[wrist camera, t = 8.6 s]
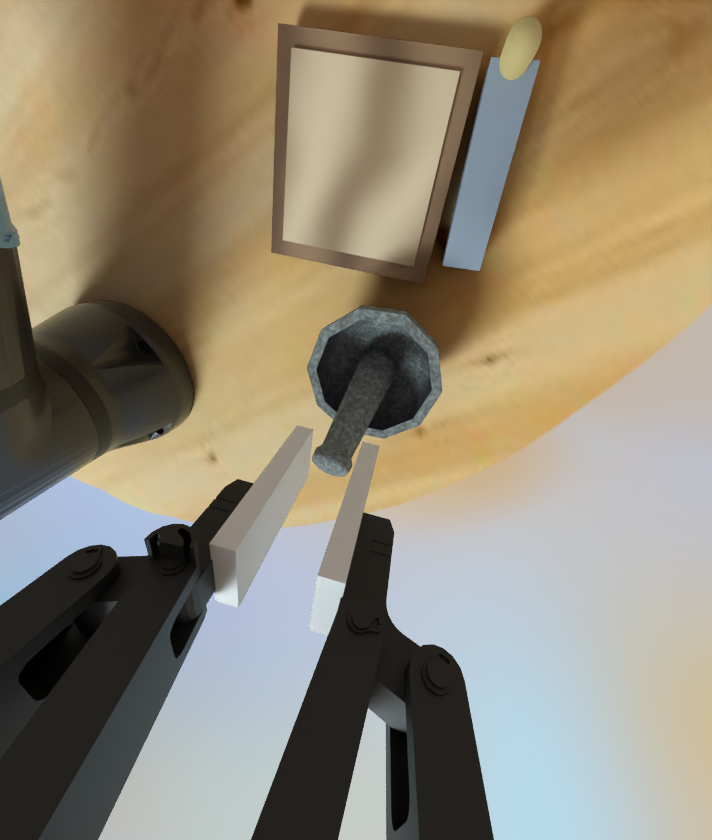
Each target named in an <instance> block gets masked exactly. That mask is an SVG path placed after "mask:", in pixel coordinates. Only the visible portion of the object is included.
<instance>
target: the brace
mask: <svg viewBox="0 0 712 840" xmlns="http://www.w3.org/2000/svg"><path fill="white" fill-rule="evenodd" d="M541 40H542V27H541V24H540V22H539V20H538V19H537V18H535V17H533V16H526V17H523V18H521V19H520V20H518V21H517V22H516V23H515V24H514V26H513V27H512V28H511V30H510V32H509V34H508V37H507V39H506V42H505V45H504V48H503V50H502V53H501V56H500V58H498V57H491V60H490V63H489V66H488V69H487V72H486V75H485V79H484V82H483V86H482V90H481V95H480V99H479V103H478V108H477V112H476V116H475V121H474V125H473V129H472V133H471V138H470V142H469V146H468V151H467V155H466V159H465V164H464V168H463V172H462V177H461V181H460V185H459V190H458V194H457V198H456V203H455V207H454V211H453V216H452V220H451V224H450V229H449V233H448V237H447V241H446V246H445V250H444V254H443V259H442V263H441V265H442V266H448V267H455V268H462V269H468V270H475V271H480V268H481V264H482V261H483V258H484V254H485V251H486V247H487V244H488V240H489V237H490V233H491V230H492V226H493V223H494V219H495V216H496V213H497V209H498V206H499V202H500V199H501V195H502V192H503V188H504V185H505V181H506V178H507V174H508V171H509V168H510V164H511V161H512V157H513V154H514V150H515V147H516V143H517V140H518V136H519V133H520V129H521V126H522V123H523V119H524V116H525V112H526V109H527V105H528V102H529V98H530V95H531V91H532V88H533V85H534V81H535V78H536V74H537V71H538V67H539V64H540V60H533V58H534V56H535V54H536V52H537V50H538V48H539V46H540V43H541Z"/></svg>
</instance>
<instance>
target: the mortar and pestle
mask: <svg viewBox="0 0 712 840" xmlns="http://www.w3.org/2000/svg"><path fill="white" fill-rule="evenodd" d="M307 370H308V374H309V377H310V381H311V384H312V388H313V391H314V395H315V399H316V402H317V405H318V406H319V407H320V408H321V409H322V410H323V411H324V412H325V413H327V414H328V415H329V416H330V417H331V418H332V419H333V422H332V424H331V427H330V429H329V431H328V433H327V436H326V438H325V440H324V442H323V444H322V445H321V446H319V447H317V448H316V450H315V452H314V454H313V457H312V461H313V462H314V464H315V465H316V466H317V467H318V468H319V469H321V470H322V471H324V472H325V473H328V474H330V475H333V476H341V477H343V476H346V475H347V474H348V473H349V471H350V469H351V467H352V461H351V458H352V456H353V454H354V452H355V450H356V449H357V447H358V445H359V443H360V441H361V439H362V437H363V435H369V436H374V437H379V438H387V437H389V436H392V435H395V434H397V433H400V432H403V431H405V430H408V429H411V428H413V427H416V426H419V425H420V424H421V423H422V421H423V420H424V418H425V417H426V415H427V414H428V412H429V411H430V409H431V408H432V406H433V405H434V403H435V402H436V400H437V399H438V397H439V396H440V394H441V393H442V384H441V373H440V362H439V351H438V343H437V342H436V341H435V340H434V339H433V338H432V337H431V336H430V335H429V334H428V333H427V332H426V331H425V330H424V329H423V328H422V327H421V326H420V325H419V323H418V322H417V321H416V320H415V319H414V318H413V317H412V316H411V315H410V314H409V313H408V312H407V311H401V310H395V309H388V308H381V307H374V306H367V305H362V306H360V307H359V308H357V309H355V310H354V311H352V312H350V313H348V314H347V315H345V316H343V317H342V318H340V319H338V320H336V321H335V322H333V323H331V324H330V325H328V326H326V327H325V328H323V329H322V330H321V332H320V334H319V337H318V340H317V342H316V345H315V348H314V350H313V353H312V356H311V358H310V361H309V364H308V366H307Z"/></svg>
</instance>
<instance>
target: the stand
mask: <svg viewBox="0 0 712 840" xmlns="http://www.w3.org/2000/svg"><path fill="white" fill-rule="evenodd" d="M483 53H484V51H480V50H472V49H465V48H457V47H450V46H443V45H435V44H428V43H420V42H413V41H406V40H398V39H391V38H383V37H376V36H369V35H361V34H354V33H346V32H339V31H332V30H324V29H317V28H309V27H302V26H294V25H287V24H280V23H278V50H277V83H276V117H275V150H274V183H273V216H272V249H271V252H272V253H277V254H282V255H286V256H291V257H296V258H301V259H306V260H310V261H315V262H320V263H325V264H329V265H334V266H339V267H344V268H349V269H353V270H358V271H363V272H368V273H373V274H377V275H382V276H387V277H392V278H397V279H401V280H406V281H411V282H416V283H421V284H424V280H425V277H426V273H427V269H428V265H429V261H430V257H431V253H432V249H433V246H434V242H435V238H436V234H437V230H438V226H439V222H440V219H441V215H442V211H443V207H444V203H445V199H446V195H447V192H448V188H449V184H450V180H451V176H452V172H453V168H454V165H455V161H456V157H457V153H458V149H459V145H460V141H461V138H462V134H463V130H464V126H465V122H466V118H467V114H468V110H469V107H470V103H471V99H472V95H473V91H474V87H475V83H476V80H477V76H478V72H479V68H480V64H481V60H482V56H483Z"/></svg>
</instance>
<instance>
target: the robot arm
mask: <svg viewBox="0 0 712 840" xmlns="http://www.w3.org/2000/svg"><path fill="white" fill-rule="evenodd" d="M19 245H20V241H19V235H18V234H17V229H16V228H15V226H14V225H13V224H12V223H11V219H10V215H9V211H8V207H7V203H6V199H5V195H4V190H3V186H2V182H1V178H0V520H1V519H2V518H4V517H5V516H7V515H8V514H10V513H11V512H13V511H15V510H16V509H18V508H19V507H21V506H22V505H24V504H25V503H27V502H29V501H30V500H32V499H33V498H35V497H37V496H38V495H40V494H41V493H43V492H44V491H46V490H47V489H49V488H51V487H52V486H54V485H55V484H57V483H58V482H60V481H62V480H63V479H65V478H66V477H67V476H69V475H71V474H73V473H74V472H76V471H77V470H79V469H80V468H82V467H83V466H85V465H87V464H88V463H90V462H91V461H93V460H95V459H96V458H98V457H99V456H101V455H103V454H104V453H106V452H108V451H111V450H115V449H119V448H123V447H126V446H130V445H134V444H137V443H141V442H145V441H148V440H153V439H156V438H159V437H161V436H163V435H165V434H167V433H169V432H170V431H172V430H173V429H174V428H176V427H177V426H179V425H180V424H181V423H182V422H184V420H185V419H186V418H187V416H188V415H189V413H190V410H191V407H192V403H193V386H192V380H191V376H190V373H189V370H188V368H187V365H186V363H185V361H184V359H183V357H182V355H181V353H180V352H179V350H178V348H177V347H176V346H175V344H174V343H173V342H172V340H171V339H170V338H169V337H168V335H167V334H166V333H165V332H164V331H163V330H162V329H161V328H160V327H159V326H158V325H157V324H155V323H154V322H153V321H152V320H151V319H149V318H148V317H147V316H145V315H144V314H142V313H140V312H139V311H137V310H135V309H133V308H131V307H129V306H126V305H124V304H120V303H117V302H112V301H96V302H89V303H83V304H77V305H74V306H71V307H68V308H66V309H64V310H62V311H61V312H59V313H57V314H56V315H54V316H52V317H51V318H49V319H47V320H45V321H44V322H42V323H41V324H39V325H37V326H36V327H34V328H31V322H30V317H29V311H28V306H27V300H26V295H25V289H24V283H23V278H22V272H21V267H20V261H19V256H18V250H17V246H19ZM312 435H313V429H309V428H305V427H301V426H296V428H295V429H294V430H293V432H292V433H291V434H290V436H289V437H288V438H287V440H286V441H285V442H284V444H283V445H282V446H281V448H280V449H279V450H278V452H277V453H276V454H275V456H274V457H273V458H272V460H271V461H270V463H269V464H268V465H267V467H266V468H265V469H264V471H263V472H262V473H261V475H260V476H259V477H258V479H257V480H256V481H255V483H254V484H253V483H250V482H246V481H242V480H239V479H237V480H236V481H234V482H232V483H231V484H229V485H227V486H226V487H225V488H224V489H223V490H222V491H221V492H220V493H219V495H218V496H217V497H216V499H214V500H213V502H212V503H211V504H210V505H209V507H208V508H207V509H206V510H205V511H204V512H203V513H202V514H201V516H200V517H199V518H198V519H197V520H196V521H195V523H194V524H193V525H192V526H191V527H189V526H187V525H184V524H171V525H167V526H163V527H161V528H159V529H157V530H155V531H153V532H152V533H151V534H150V535H148V536H147V537H146V538H145V539H144V540H145V544H146V547H147V551H148V555H149V556H130V557H117V554H116V552H115V551H114V550H113V549H112V548H111V547H109V546H105V545H94V546H89V547H86V548H83V549H80V550H77V551H76V552H74V553H72V554H71V555H69V556H67V557H66V558H64V559H63V560H62V561H60V562H59V563H58V564H56V565H55V566H54V567H52V568H51V569H50V570H48V571H47V572H45V573H44V574H43V575H42V576H40V577H39V578H38V579H36V580H35V581H33V582H32V583H30V584H29V585H28V586H26V587H25V588H24V589H22V590H21V591H20V592H18V593H17V594H16V595H14V596H13V597H12V598H10V599H9V600H7V601H6V602H5V603H3V604H2V605H1V606H0V840H98V838H99V836H100V834H101V832H102V830H103V828H104V826H105V824H106V822H107V820H108V817H109V816H110V813H111V811H112V809H113V807H114V805H115V803H116V801H117V799H118V797H119V795H120V793H121V791H122V789H123V786H124V784H125V782H126V780H127V778H128V776H129V774H130V772H131V770H132V768H133V766H134V764H135V761H136V759H137V757H138V755H139V753H140V751H141V749H142V747H143V745H144V743H145V741H146V739H147V737H148V735H149V733H150V730H151V728H152V726H153V724H154V722H155V720H156V718H157V716H158V714H159V712H160V710H161V708H162V706H163V704H164V701H165V699H166V697H167V695H168V693H169V691H170V689H171V687H172V685H173V683H174V681H175V678H176V676H177V674H178V672H179V670H180V668H181V666H182V664H183V662H184V660H185V658H186V656H187V654H188V652H189V649H190V647H191V645H192V643H193V641H194V639H195V637H196V635H197V633H198V631H199V629H200V627H201V625H202V623H203V620H204V618H205V615H206V611H207V608H206V604H207V602H208V601H209V599H210V598H211V596H212V594H213V593H214V591H215V598H216V601H218V602H221V603H225V604H228V605H231V606H234V607H237V608H239V606H240V604H241V602H242V600H243V598H244V596H245V594H246V592H247V590H248V589H249V587H250V585H251V583H252V581H253V579H254V577H255V575H256V574H257V571H258V570H259V568H260V566H261V564H262V562H263V560H264V558H265V556H266V555H267V552H268V551H269V549H270V547H271V545H272V543H273V541H274V539H275V537H276V536H277V534H278V532H279V530H280V528H281V526H282V524H283V522H284V521H285V519H286V517H287V515H288V513H289V511H290V509H291V507H292V505H293V504H294V502H295V500H296V498H297V496H298V494H299V492H300V490H301V488H302V487H303V485H304V483H305V481H306V479H307V477H308V472H309V463H310V454H311V445H312ZM378 450H379V446H377V445H373V444H369V443H365V442H362V445H361V448H360V451H359V454H358V457H357V460H356V463H355V466H354V469H353V472H352V475H351V478H350V481H349V484H348V487H347V490H346V493H345V496H344V499H343V502H342V505H341V508H340V511H339V514H338V516H337V519H336V523H335V525H334V528H333V532H332V534H331V537H330V540H329V543H328V546H327V549H326V552H325V555H324V558H323V561H322V564H321V567H320V570H319V573H318V576H317V583H316V588H315V594H314V600H313V607H312V613H311V619H310V625H309V630H311V631H314V632H317V633H321V634H324V635H327V636H328V637H327V640H326V642H325V645H324V648H323V650H322V653H321V656H320V658H319V661H318V663H317V666H316V669H315V671H314V674H313V677H312V679H311V682H310V685H309V687H308V690H307V693H306V695H305V698H304V701H303V703H302V706H301V709H300V711H299V714H298V717H297V719H296V722H295V725H294V727H293V730H292V732H291V735H290V738H289V740H288V743H287V746H286V748H285V751H284V754H283V756H282V759H281V762H280V764H279V767H278V770H277V773H276V775H275V778H274V781H273V783H272V786H271V788H270V791H269V793H268V796H267V799H266V801H265V804H264V807H263V810H262V812H261V815H260V817H259V820H258V823H257V825H256V828H255V831H254V834H253V836H252V839H251V840H338V836H339V832H340V827H341V823H342V819H343V814H344V810H345V806H346V801H347V797H348V792H349V788H350V783H351V779H352V775H353V770H354V766H355V762H356V757H357V753H358V749H359V744H360V740H361V735H362V731H363V727H364V722H365V718H366V713H367V709H368V708H369V709H370V710H372V711H373V712H374V713H375V714H376V715H378V716H379V717H380V718H381V719H382V720H383V721H384V722H386V826H387V828H386V829H387V830H386V831H387V832H386V835H387V840H494V838H493V833H492V827H491V822H490V816H489V811H488V805H487V800H486V795H485V790H484V784H483V779H482V773H481V767H480V762H479V757H478V752H477V746H476V741H475V735H474V730H473V724H472V719H471V713H470V708H469V702H468V697H467V691H466V686H465V681H464V678H463V675H462V672H461V669H460V667H459V665H458V664H457V662H456V661H455V659H454V658H453V656H452V655H450V654H449V653H448V652H447V651H446V650H445V649H443V648H441V647H438V646H436V645H423V646H421V647H420V646H419V645H417V644H416V643H414V642H413V641H412V640H410V639H409V638H407V637H406V636H405V635H403V634H402V633H401V632H400V631H399V630H398V629H397V628H396V627H395V626H394V624H393V623H392V621H391V619H390V617H389V616H388V612H387V607H386V597H387V589H388V580H389V572H390V563H391V554H392V546H393V537H394V531H393V528H392V525H391V522H390V520H389V519H385V518H381V517H377V516H374V515H370V514H367V513H363V511H364V507H365V503H366V499H367V495H368V491H369V487H370V483H371V479H372V475H373V471H374V466H375V462H376V458H377V454H378Z"/></svg>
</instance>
